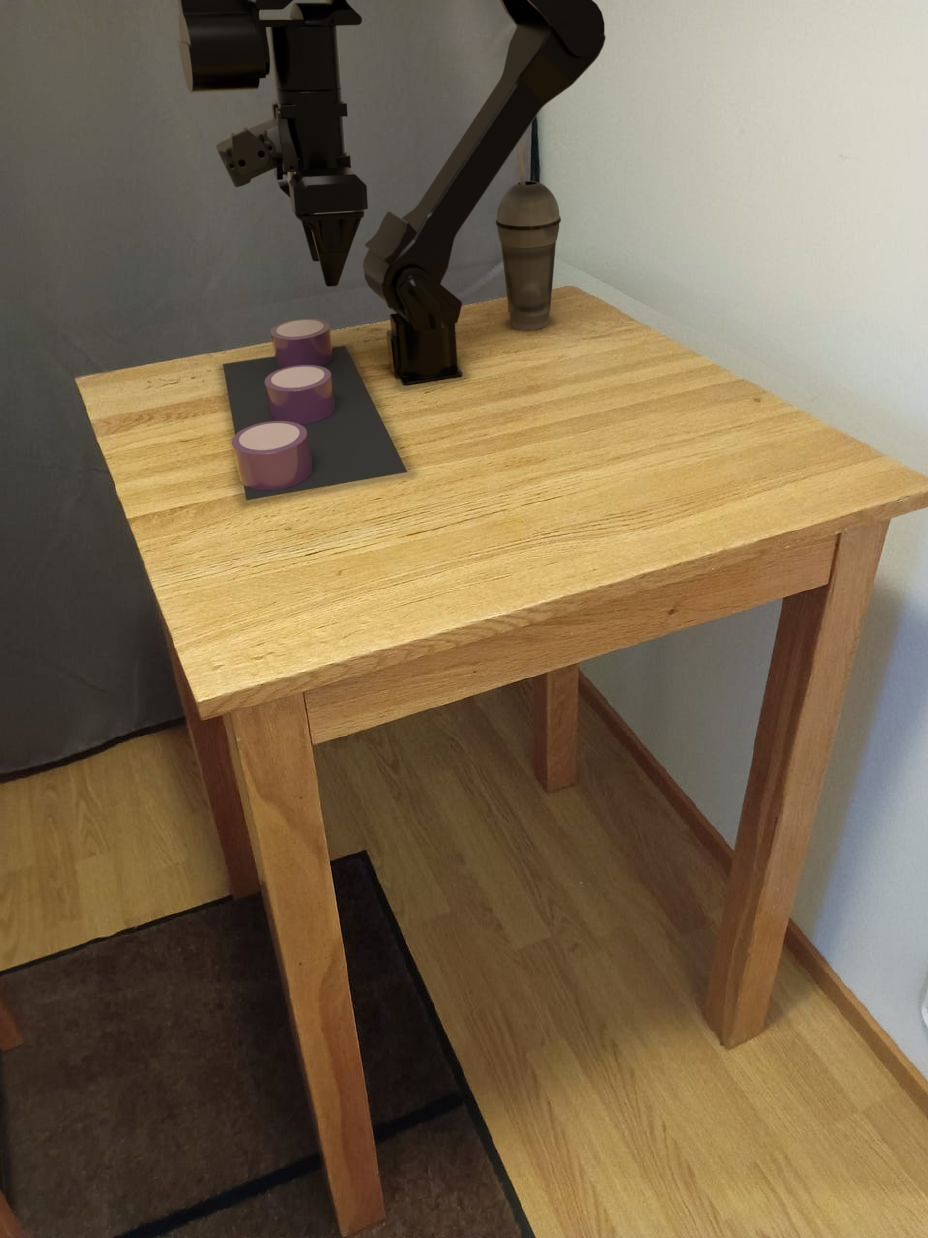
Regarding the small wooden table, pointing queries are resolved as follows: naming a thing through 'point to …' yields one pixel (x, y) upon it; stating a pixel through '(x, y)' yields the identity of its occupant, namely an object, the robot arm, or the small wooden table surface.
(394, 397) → the small wooden table surface
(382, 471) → the placemat
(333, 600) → the small wooden table surface
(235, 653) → the small wooden table surface
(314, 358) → the short purple cylinder
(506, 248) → the beverage cup
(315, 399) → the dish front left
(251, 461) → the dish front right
